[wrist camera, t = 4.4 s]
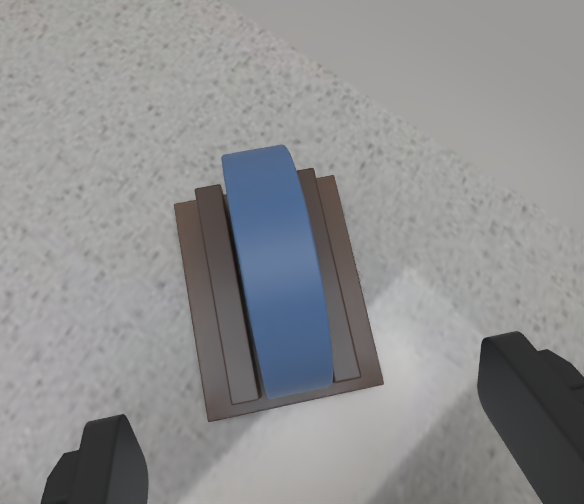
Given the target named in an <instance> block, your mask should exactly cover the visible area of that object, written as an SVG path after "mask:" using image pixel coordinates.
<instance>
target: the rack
mask: <svg viewBox="0 0 584 504" xmlns="http://www.w3.org/2000/svg"><path fill="white" fill-rule="evenodd" d="M297 174H298V178H299V181H300V184H301V188H302V191H303V195H304V199H305V203H306V207H307V210H308V214H309V219H310V223H311V227H312V232H313V236H314V241H315V246H316V250H317V255H318V260H319V265H320V271H321V276H322V282H323V287H324V293H325V299H326V305H327V312H328V319H329V326H330V334H331V343H332V354H333V381H332V384H331V386H329V387H326V388H321V389H317V390H312V391H307V392H303V393H298V394H293V395H289V396H284V397H279V398H275V399H268V397H267V395H266V391H265V387H264V383H263V378H262V374H261V369H260V365H259V360H258V355H257V351H256V346H255V341H254V336H253V331H252V326H251V321H250V316H249V311H248V306H247V301H246V296H245V291H244V286H243V280H242V275H241V270H240V265H239V259H238V254H237V249H236V243H235V238H234V232H233V227H232V221H231V216H230V210H229V204H228V198H227V195H224V194H223V191H222V187H221V185H213V186H208V187H202V188H196V189H195V195H196V200H194V201H188V202H183V203H177V204H174V210H175V216H176V222H177V229H178V235H179V241H180V247H181V254H182V260H183V266H184V273H185V279H186V285H187V292H188V298H189V304H190V311H191V317H192V323H193V329H194V336H195V342H196V348H197V355H198V361H199V367H200V374H201V380H202V386H203V393H204V399H205V405H206V411H207V418H208V422H212V421H217V420H222V419H226V418H231V417H235V416H240V415H245V414H249V413H254V412H259V411H263V410H268V409H272V408H277V407H282V406H286V405H291V404H296V403H300V402H305V401H309V400H314V399H319V398H323V397H328V396H333V395H337V394H342V393H347V392H351V391H356V390H360V389H365V388H370V387H374V386H379V385H383V384H384V381H383V377H382V373H381V369H380V365H379V360H378V356H377V352H376V348H375V344H374V340H373V335H372V331H371V327H370V323H369V319H368V315H367V310H366V306H365V302H364V298H363V294H362V290H361V285H360V281H359V277H358V273H357V269H356V265H355V260H354V256H353V252H352V248H351V244H350V240H349V235H348V231H347V227H346V223H345V219H344V215H343V210H342V206H341V202H340V198H339V194H338V190H337V185H336V181H335V177H334V175H332V176H326V177H321V178H316V176H315V172H314V169H313V168H309V169H303V170H298V171H297Z"/></svg>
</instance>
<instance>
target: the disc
mask: <svg viewBox="0 0 584 504" xmlns="http://www.w3.org/2000/svg"><path fill="white" fill-rule="evenodd" d="M222 167H223V174H224V180H225V186H226V192H227V198H228V204H229V210H230V216H231V221H232V227H233V232H234V238H235V243H236V249H237V254H238V259H239V265H240V270H241V275H242V280H243V286H244V291H245V296H246V301H247V306H248V311H249V316H250V321H251V326H252V331H253V336H254V341H255V346H256V351H257V355H258V360H259V365H260V369H261V374H262V378H263V383H264V387H265V391H266V395H267V397H268V399H275V398H279V397H284V396H289V395H293V394H298V393H303V392H307V391H312V390H317V389H321V388H326V387H329V386H331V384H332V381H333V354H332V343H331V334H330V326H329V319H328V312H327V305H326V299H325V293H324V287H323V282H322V276H321V271H320V265H319V260H318V255H317V250H316V246H315V241H314V236H313V232H312V227H311V223H310V219H309V214H308V210H307V207H306V203H305V199H304V195H303V191H302V188H301V184H300V181H299V178H298V174H297V171H296V168H295V165H294V163H293V160H292V157H291V155H290V153H289V151H288V149H287V148H286V147H285V145H277V146H271V147H265V148H260V149H254V150H248V151H243V152H237V153H231V154H225V155H223V156H222Z"/></svg>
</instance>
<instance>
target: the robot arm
mask: <svg viewBox="0 0 584 504" xmlns="http://www.w3.org/2000/svg"><path fill="white" fill-rule="evenodd" d="M477 388H478V395H479V399H480V402H481V405H482V407H483V409H484V411H485V413H486V415H487V416H488V418H489V419H490V421H491V422H492V424H493V426H494V427H495V429H496V430H497V432H498V434H499V435H500V437H501V438H502V440H503V441H504V443H505V445H506V446H507V448H508V449H509V451H510V453H511V454H512V456H513V457H514V459H515V460H516V462H517V464H518V465H519V467H520V468H521V470H522V471H523V473H524V475H525V476H526V478H527V479H528V481H529V483H530V484H531V486H532V487H533V489H534V490H535V492H536V494H537V495H538V497H539V498H540V500H541V501H542V503H543V504H584V377H583V376H582V375H581V374H580V373H579V371H578V370H577V369H576V368H575V367H574V366H573V365H572V364H571V363H570V362H568V361H566V360H565V359H563V358H561V357H560V356H558V355H556V354H555V353H553V352H552V351H550V350H548V349H545V350H541V351H537V350H536V349H535V348H534V346H533V345H532V344H531V343H530V342H529V341H528V340H527V338H526V337H525V336H524V335H523V334H522V333H520V332H518V331H515V332H510V333H505V334H501V335H496V336H491V337H487V338H484V339H483V340H482V344H481V353H480V363H479V373H478V383H477ZM147 499H148V470H147V465H146V461H145V457H144V455H143V453H142V450H141V448H140V446H139V444H138V441H137V439H136V437H135V434H134V432H133V430H132V427H131V425H130V423H129V421H128V419H127V417H126V416H125V415H124V414H122V415H117V416H112V417H108V418H103V419H98V420H93V421H89V422H87V423H86V425H85V427H84V431H83V435H82V439H81V444H80V448H79V450H77V451H72V452H68V453H64V454H63V455H62V457H61V458H60V460H59V461H58V463H57V464H56V466H55V467H54V469H53V470H52V472H51V473H50V475H49V476H48V478H47V482H46V485H45V489H44V493H43V496H42V500H41V504H147Z"/></svg>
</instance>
